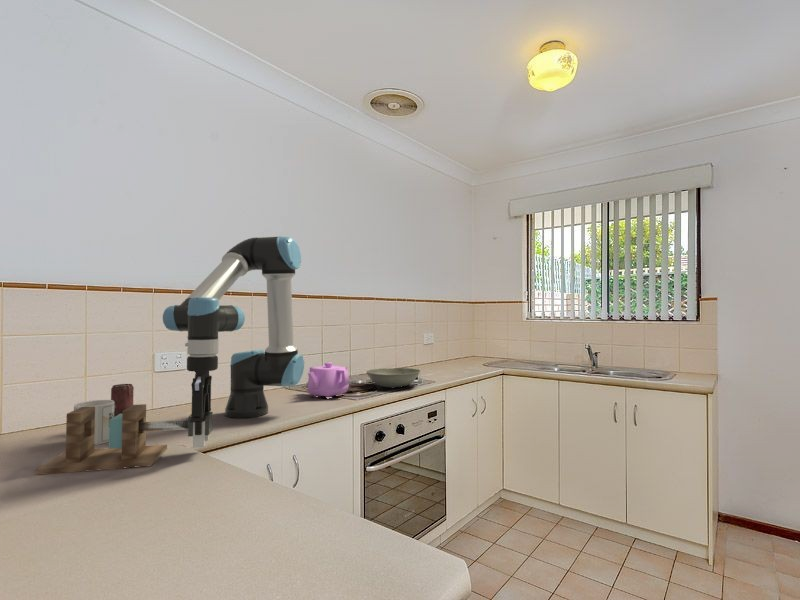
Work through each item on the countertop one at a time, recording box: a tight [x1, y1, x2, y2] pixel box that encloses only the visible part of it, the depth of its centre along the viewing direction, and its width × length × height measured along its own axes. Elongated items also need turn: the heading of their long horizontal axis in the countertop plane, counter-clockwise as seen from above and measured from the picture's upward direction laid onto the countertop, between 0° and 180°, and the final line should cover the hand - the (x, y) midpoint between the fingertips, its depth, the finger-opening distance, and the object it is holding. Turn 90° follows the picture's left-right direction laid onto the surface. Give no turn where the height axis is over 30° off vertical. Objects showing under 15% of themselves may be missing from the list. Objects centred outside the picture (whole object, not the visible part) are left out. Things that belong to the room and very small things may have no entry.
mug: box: [73, 399, 115, 446], centre depth 128 cm, size 10×12×11 cm
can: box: [110, 383, 134, 417], centre depth 143 cm, size 6×6×14 cm
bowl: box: [365, 367, 421, 388], centre depth 225 cm, size 27×28×8 cm
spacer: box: [108, 414, 122, 449], centre depth 113 cm, size 3×7×7 cm, turn 14°
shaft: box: [138, 411, 214, 437], centre depth 116 cm, size 21×5×5 cm, turn 104°
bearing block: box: [36, 403, 168, 475], centre depth 112 cm, size 24×14×13 cm, turn 104°
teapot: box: [307, 361, 350, 398], centre depth 199 cm, size 19×18×15 cm
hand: (201, 443), depth 117 cm, fingers closed on shaft, 5 cm apart
